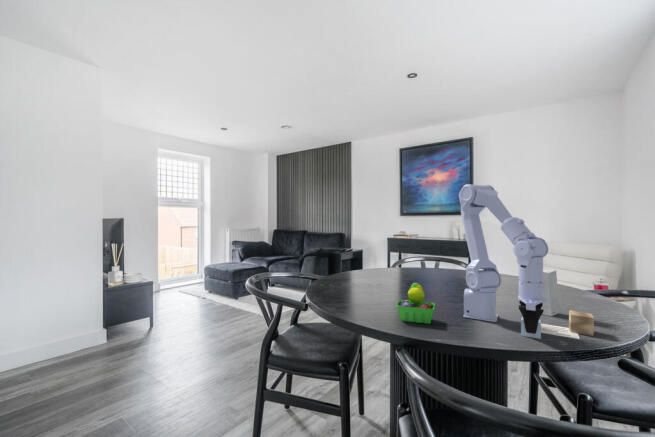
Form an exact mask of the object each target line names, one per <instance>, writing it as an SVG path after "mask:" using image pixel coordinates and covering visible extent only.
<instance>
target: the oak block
mask: <svg viewBox="0 0 655 437" xmlns="http://www.w3.org/2000/svg"><path fill="white" fill-rule="evenodd" d="M568 328H569V329H570V332H574V333H578V335H579V334H580V335H584V336H592V337H594V332H595V331H594V330H595V329H594V328H595V317H594V316H593V314H592V313H590V312H583V311H578V310H577V311H576V310H570V309H569V310H568Z"/></svg>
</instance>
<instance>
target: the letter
mask: <svg viewBox="0 0 655 437" xmlns="http://www.w3.org/2000/svg"><path fill="white" fill-rule="evenodd" d="M542 333H543V334H547V335H553V336H557V337H558V336H559V337H566V338H571V339H578V340H580V339H581V338H580V336H579V333H574V332H570V329H569V327H566V326H561V325H560V326H559V325H551V324H547V323H541V334H542Z"/></svg>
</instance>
